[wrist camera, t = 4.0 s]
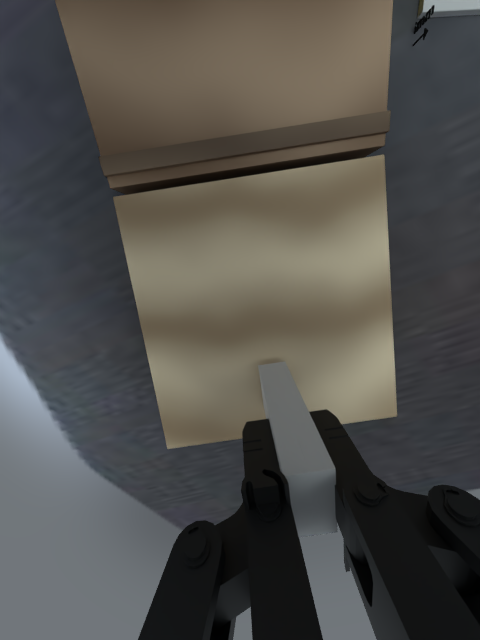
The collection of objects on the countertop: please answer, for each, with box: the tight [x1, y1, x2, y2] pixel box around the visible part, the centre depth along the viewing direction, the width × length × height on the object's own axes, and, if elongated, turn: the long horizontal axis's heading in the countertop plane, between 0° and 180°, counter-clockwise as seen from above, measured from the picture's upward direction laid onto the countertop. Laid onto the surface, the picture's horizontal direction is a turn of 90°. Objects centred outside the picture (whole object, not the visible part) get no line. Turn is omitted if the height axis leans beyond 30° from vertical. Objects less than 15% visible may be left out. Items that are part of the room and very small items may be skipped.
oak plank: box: [113, 155, 397, 449], centre depth 14 cm, size 14×14×2 cm
